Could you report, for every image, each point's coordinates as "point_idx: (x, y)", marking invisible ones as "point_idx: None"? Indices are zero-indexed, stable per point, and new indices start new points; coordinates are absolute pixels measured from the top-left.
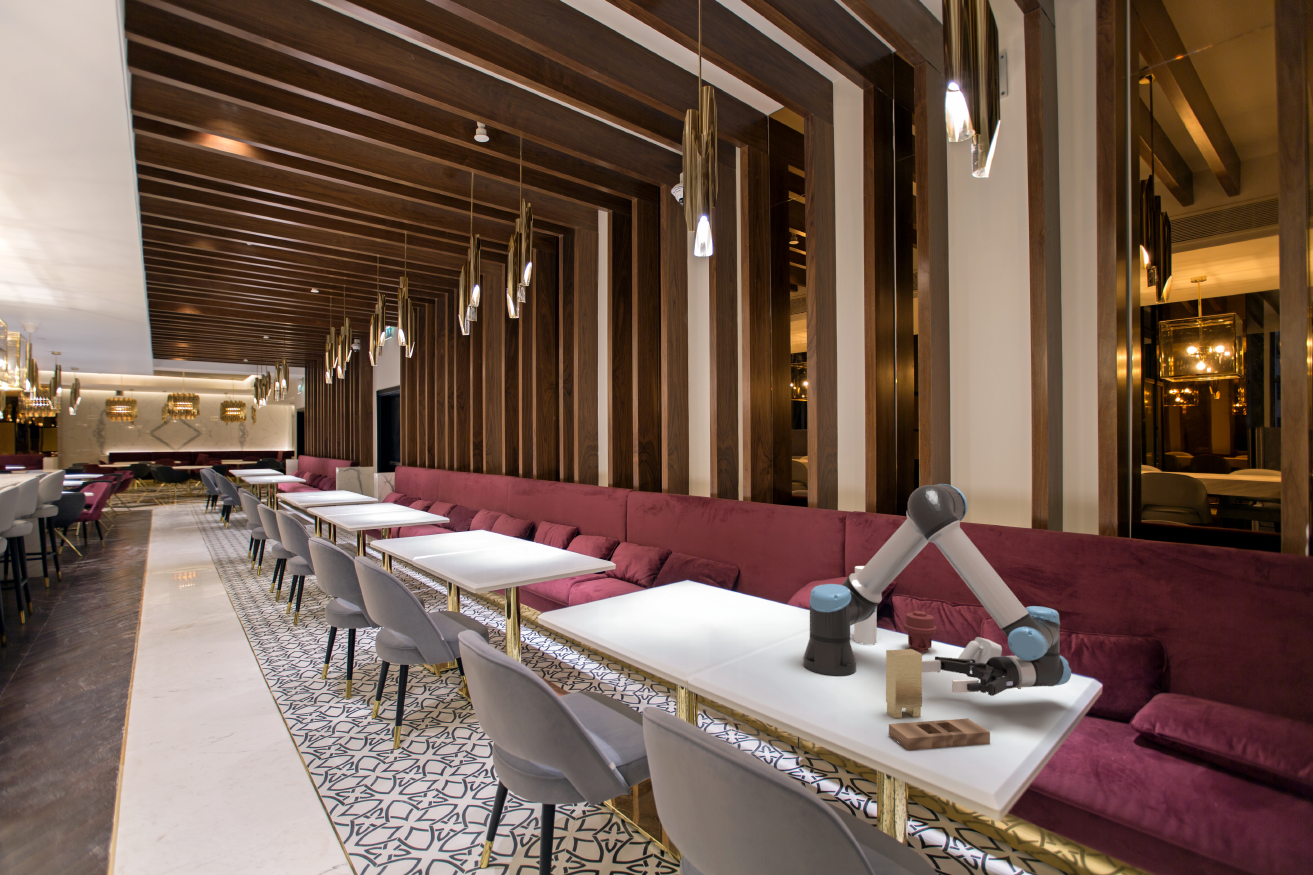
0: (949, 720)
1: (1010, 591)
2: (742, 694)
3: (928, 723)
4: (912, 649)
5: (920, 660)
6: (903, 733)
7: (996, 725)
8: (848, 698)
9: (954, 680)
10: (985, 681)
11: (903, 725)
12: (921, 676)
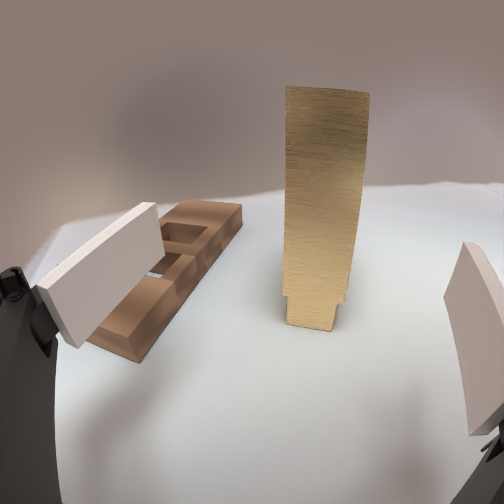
0: (163, 287)
1: None
2: (432, 187)
3: (192, 244)
4: (362, 92)
5: (287, 115)
6: (199, 202)
7: (81, 472)
8: (432, 260)
9: (147, 207)
10: (4, 291)
11: (221, 214)
12: (285, 187)
